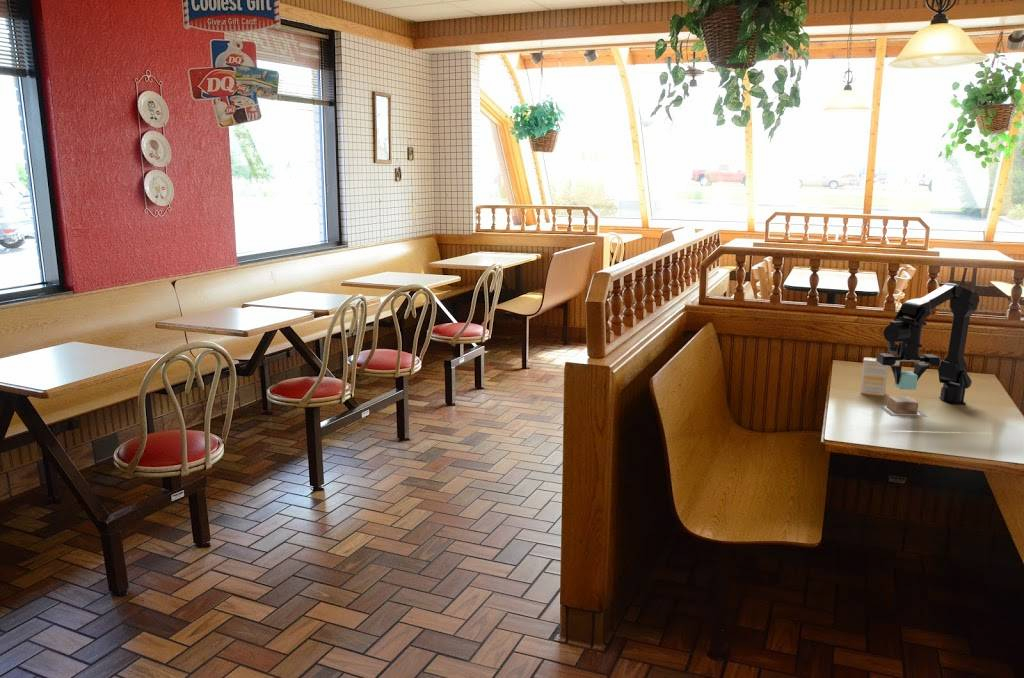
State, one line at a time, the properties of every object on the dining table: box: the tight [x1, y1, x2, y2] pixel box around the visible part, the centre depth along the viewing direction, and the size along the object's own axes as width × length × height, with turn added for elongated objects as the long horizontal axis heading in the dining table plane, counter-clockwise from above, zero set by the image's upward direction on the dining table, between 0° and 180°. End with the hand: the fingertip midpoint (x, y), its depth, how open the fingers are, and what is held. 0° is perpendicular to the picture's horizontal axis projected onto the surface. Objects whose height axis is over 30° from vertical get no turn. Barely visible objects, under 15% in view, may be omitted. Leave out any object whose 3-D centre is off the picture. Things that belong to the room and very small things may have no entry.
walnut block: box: [886, 395, 919, 414], centre depth 268 cm, size 7×7×4 cm
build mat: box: [876, 404, 928, 418], centre depth 268 cm, size 12×12×1 cm
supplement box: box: [860, 356, 889, 397], centre depth 286 cm, size 8×5×13 cm, turn 65°
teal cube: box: [893, 370, 918, 391], centre depth 266 cm, size 5×5×5 cm
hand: (905, 384), depth 266 cm, fingers closed on teal cube, 5 cm apart
